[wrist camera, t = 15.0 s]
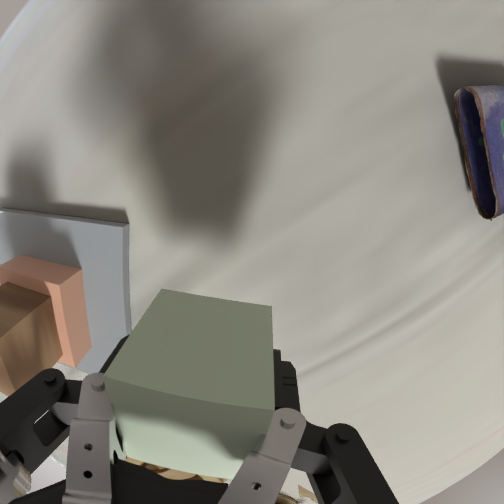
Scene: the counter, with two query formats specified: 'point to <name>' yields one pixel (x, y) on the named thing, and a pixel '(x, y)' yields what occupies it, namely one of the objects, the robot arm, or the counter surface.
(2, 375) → the block
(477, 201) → the purple clover wallet
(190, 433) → the block
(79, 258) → the plate
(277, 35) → the counter surface
